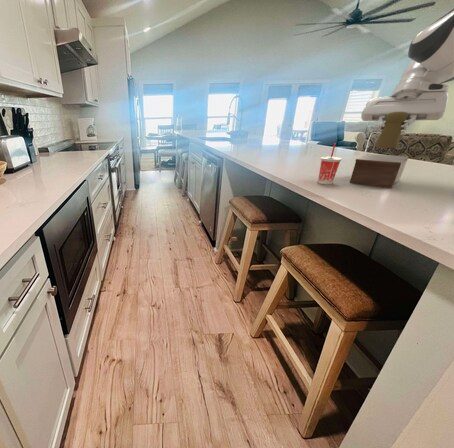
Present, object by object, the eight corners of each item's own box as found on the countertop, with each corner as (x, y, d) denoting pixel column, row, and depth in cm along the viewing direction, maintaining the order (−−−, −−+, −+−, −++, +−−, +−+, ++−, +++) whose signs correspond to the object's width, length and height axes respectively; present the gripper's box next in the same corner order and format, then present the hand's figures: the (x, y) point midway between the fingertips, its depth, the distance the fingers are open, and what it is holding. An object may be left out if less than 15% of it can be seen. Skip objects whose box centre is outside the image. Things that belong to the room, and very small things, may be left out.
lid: (400, 165, 76) (401, 162, 76) (355, 161, 84) (355, 159, 84) (407, 158, 84) (408, 156, 84) (365, 155, 93) (366, 153, 92)
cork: (382, 148, 81) (394, 112, 76) (370, 146, 86) (381, 112, 81) (402, 147, 80) (416, 111, 75) (389, 145, 85) (401, 111, 80)
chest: (391, 188, 80) (400, 164, 77) (349, 182, 88) (355, 161, 85) (399, 180, 88) (407, 159, 84) (359, 176, 96) (365, 156, 93)
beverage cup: (331, 180, 91) (341, 142, 86) (337, 185, 86) (349, 144, 80) (313, 180, 93) (322, 142, 87) (318, 184, 88) (328, 144, 82)
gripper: (369, 91, 87) (353, 121, 85) (456, 84, 72) (439, 121, 71) (369, 104, 91) (353, 134, 89) (450, 100, 77) (434, 135, 75)
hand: (392, 128), depth 80 cm, fingers closed on cork, 4 cm apart
